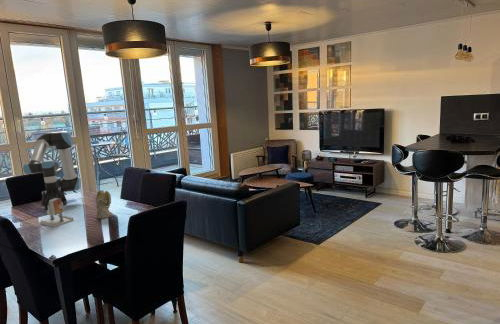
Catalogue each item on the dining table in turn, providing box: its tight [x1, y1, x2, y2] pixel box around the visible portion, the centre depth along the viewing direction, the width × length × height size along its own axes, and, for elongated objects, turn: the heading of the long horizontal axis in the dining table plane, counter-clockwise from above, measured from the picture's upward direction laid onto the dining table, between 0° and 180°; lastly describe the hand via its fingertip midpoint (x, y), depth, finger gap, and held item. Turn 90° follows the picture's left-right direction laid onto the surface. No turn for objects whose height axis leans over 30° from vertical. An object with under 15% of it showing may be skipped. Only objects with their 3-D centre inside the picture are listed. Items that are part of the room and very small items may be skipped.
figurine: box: [95, 190, 113, 220], centre depth 252 cm, size 12×12×20 cm
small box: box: [48, 198, 64, 216], centre depth 246 cm, size 8×6×10 cm
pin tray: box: [40, 212, 74, 228], centre depth 247 cm, size 14×18×8 cm
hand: (55, 212), depth 246 cm, fingers closed on small box, 9 cm apart
